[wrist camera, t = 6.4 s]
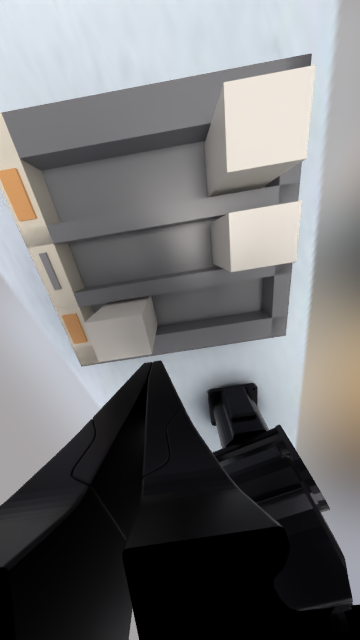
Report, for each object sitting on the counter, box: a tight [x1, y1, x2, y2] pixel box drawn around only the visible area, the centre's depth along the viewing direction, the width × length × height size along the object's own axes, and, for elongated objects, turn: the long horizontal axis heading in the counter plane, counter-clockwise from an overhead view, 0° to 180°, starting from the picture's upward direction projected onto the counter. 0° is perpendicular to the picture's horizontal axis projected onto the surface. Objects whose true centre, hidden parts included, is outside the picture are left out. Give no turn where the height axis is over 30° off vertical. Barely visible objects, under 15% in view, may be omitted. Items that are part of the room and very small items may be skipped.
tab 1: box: [83, 296, 158, 362], centre depth 15 cm, size 3×4×5 cm
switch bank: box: [0, 54, 312, 366], centre depth 15 cm, size 18×20×4 cm
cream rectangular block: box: [204, 65, 316, 198], centre depth 11 cm, size 3×4×5 cm
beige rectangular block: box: [210, 201, 302, 272], centre depth 13 cm, size 3×4×5 cm
